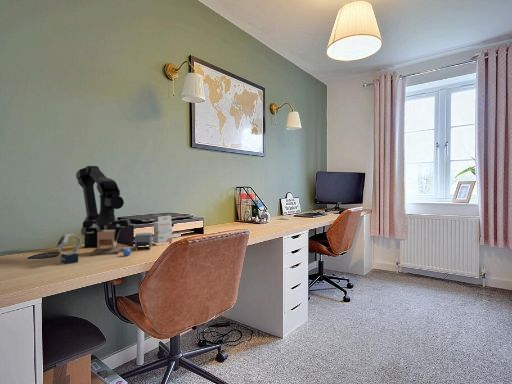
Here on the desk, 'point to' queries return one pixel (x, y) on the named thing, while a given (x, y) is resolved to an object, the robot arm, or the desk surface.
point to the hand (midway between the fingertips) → (107, 242)
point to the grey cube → (143, 239)
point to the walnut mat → (106, 250)
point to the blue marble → (126, 251)
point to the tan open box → (106, 238)
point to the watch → (68, 257)
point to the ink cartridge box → (162, 230)
